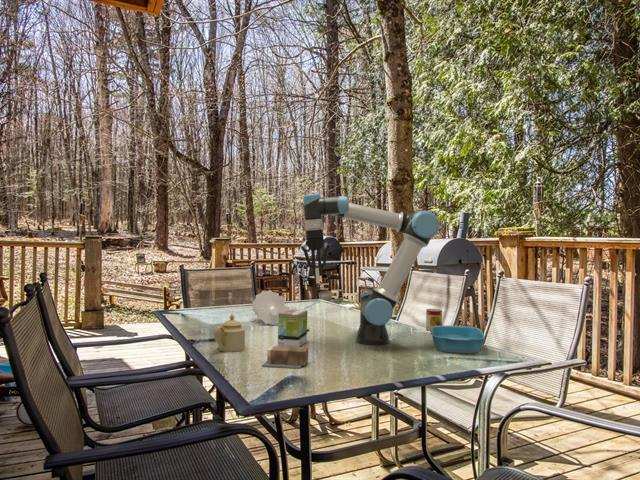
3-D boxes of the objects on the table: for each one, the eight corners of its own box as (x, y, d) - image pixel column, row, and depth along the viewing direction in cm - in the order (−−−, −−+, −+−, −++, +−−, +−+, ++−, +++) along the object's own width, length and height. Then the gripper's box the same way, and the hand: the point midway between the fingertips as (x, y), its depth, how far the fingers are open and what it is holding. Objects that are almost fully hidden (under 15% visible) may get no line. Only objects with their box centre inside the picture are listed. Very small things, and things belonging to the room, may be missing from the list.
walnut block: (308, 347, 179) (272, 345, 182) (304, 351, 172) (267, 349, 175) (307, 360, 179) (272, 359, 182) (304, 365, 172) (267, 363, 175)
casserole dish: (430, 337, 232) (431, 322, 232) (478, 340, 227) (478, 325, 227) (431, 354, 196) (431, 337, 196) (488, 358, 191) (488, 340, 191)
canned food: (444, 334, 239) (445, 310, 239) (431, 334, 237) (431, 311, 237) (436, 331, 247) (437, 308, 247) (423, 332, 244) (423, 308, 244)
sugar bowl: (240, 354, 191) (240, 317, 191) (213, 354, 191) (213, 317, 191) (246, 346, 206) (247, 312, 206) (221, 346, 206) (222, 311, 206)
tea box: (299, 348, 203) (299, 314, 203) (277, 347, 205) (277, 313, 205) (307, 341, 218) (307, 309, 218) (286, 340, 220) (286, 308, 220)
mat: (306, 360, 182) (306, 359, 182) (299, 368, 170) (300, 367, 170) (271, 358, 184) (271, 357, 184) (262, 366, 172) (262, 365, 172)
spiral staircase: (266, 333, 255) (258, 323, 279) (295, 318, 259) (285, 310, 283) (252, 304, 252) (245, 296, 276) (281, 289, 256) (272, 283, 280)
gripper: (298, 230, 203) (302, 285, 204) (328, 228, 201) (332, 283, 203) (300, 230, 210) (304, 282, 211) (329, 227, 209) (333, 280, 210)
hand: (318, 282), depth 207 cm, fingers closed
